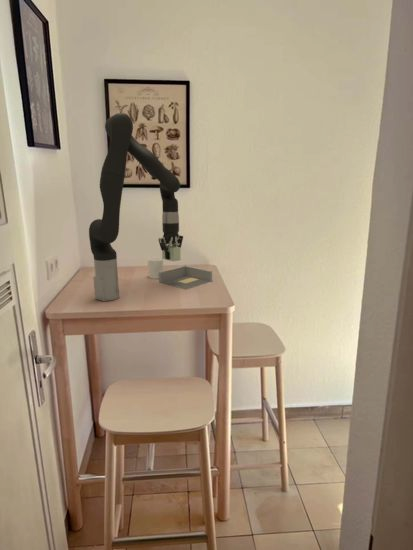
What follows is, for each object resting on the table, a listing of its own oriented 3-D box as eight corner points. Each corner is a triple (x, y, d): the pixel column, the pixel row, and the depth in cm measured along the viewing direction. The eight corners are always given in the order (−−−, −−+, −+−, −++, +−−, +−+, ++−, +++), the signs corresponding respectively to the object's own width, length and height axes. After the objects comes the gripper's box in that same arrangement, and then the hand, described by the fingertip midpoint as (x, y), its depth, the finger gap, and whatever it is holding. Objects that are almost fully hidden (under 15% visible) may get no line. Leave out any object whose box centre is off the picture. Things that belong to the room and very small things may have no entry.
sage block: (174, 261, 172) (174, 248, 171) (162, 259, 177) (162, 246, 176) (180, 260, 175) (180, 247, 174) (168, 257, 180) (168, 245, 179)
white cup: (145, 279, 189) (144, 260, 187) (152, 275, 196) (151, 257, 194) (159, 281, 187) (159, 261, 184) (166, 277, 194) (165, 257, 191)
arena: (186, 291, 170) (185, 278, 168) (159, 284, 181) (158, 272, 180) (212, 282, 183) (212, 271, 181) (185, 276, 194) (185, 265, 193)
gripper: (164, 223, 164) (165, 262, 169) (187, 221, 175) (187, 257, 179) (153, 222, 169) (154, 259, 173) (176, 219, 180) (176, 255, 184)
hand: (171, 258), depth 176 cm, fingers closed on sage block, 4 cm apart
